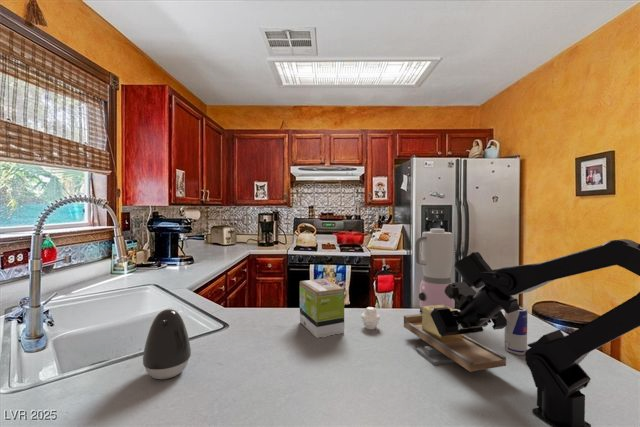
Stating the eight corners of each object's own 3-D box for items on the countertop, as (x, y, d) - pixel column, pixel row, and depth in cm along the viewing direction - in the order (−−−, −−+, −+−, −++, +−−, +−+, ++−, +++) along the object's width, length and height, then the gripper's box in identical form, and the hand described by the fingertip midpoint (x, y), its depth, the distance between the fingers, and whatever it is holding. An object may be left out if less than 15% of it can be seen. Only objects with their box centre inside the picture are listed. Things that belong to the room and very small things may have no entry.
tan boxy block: (462, 339, 84) (462, 313, 84) (440, 342, 82) (440, 315, 82) (442, 328, 91) (442, 304, 91) (422, 330, 89) (422, 306, 89)
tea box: (298, 322, 107) (298, 280, 107) (324, 318, 112) (324, 277, 111) (316, 339, 94) (316, 290, 94) (345, 334, 98) (345, 287, 98)
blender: (439, 306, 126) (440, 227, 126) (461, 316, 114) (462, 229, 114) (405, 310, 121) (406, 228, 121) (425, 321, 110) (426, 230, 109)
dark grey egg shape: (136, 389, 67) (136, 319, 67) (149, 365, 77) (149, 304, 77) (187, 382, 70) (187, 315, 70) (193, 360, 80) (193, 301, 80)
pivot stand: (479, 358, 82) (480, 348, 82) (434, 365, 79) (434, 355, 79) (458, 345, 90) (458, 336, 90) (416, 351, 86) (416, 342, 86)
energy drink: (530, 356, 84) (531, 311, 84) (508, 354, 85) (509, 310, 85) (521, 347, 89) (522, 305, 89) (501, 345, 90) (501, 304, 90)
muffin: (379, 324, 106) (379, 304, 106) (380, 331, 100) (380, 310, 100) (361, 323, 107) (361, 303, 107) (361, 330, 101) (361, 309, 101)
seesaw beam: (505, 365, 72) (506, 350, 72) (470, 371, 69) (470, 355, 69) (431, 323, 99) (431, 312, 99) (403, 326, 96) (403, 315, 96)
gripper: (498, 272, 80) (466, 302, 90) (435, 276, 74) (409, 307, 85) (525, 312, 72) (487, 340, 83) (458, 320, 67) (426, 348, 78)
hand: (452, 333), depth 82 cm, fingers closed
